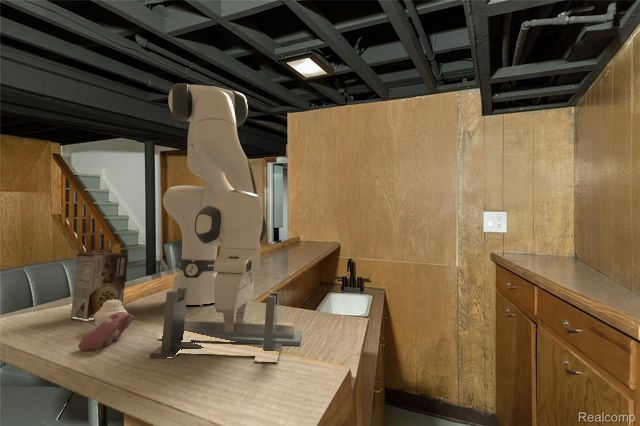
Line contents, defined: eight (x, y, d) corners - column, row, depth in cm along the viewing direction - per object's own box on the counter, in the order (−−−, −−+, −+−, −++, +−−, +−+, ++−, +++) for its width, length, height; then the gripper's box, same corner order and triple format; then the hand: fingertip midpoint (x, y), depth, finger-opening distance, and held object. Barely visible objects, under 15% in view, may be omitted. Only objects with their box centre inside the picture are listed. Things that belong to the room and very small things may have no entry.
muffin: (132, 330, 69) (136, 298, 69) (104, 337, 63) (108, 302, 64) (113, 326, 71) (117, 295, 72) (84, 333, 65) (89, 299, 66)
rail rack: (170, 343, 61) (176, 286, 62) (281, 348, 62) (285, 291, 63) (149, 357, 53) (156, 292, 54) (277, 363, 54) (281, 298, 55)
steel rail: (176, 328, 69) (178, 317, 69) (293, 333, 69) (294, 322, 69) (172, 331, 66) (173, 320, 66) (293, 337, 67) (293, 325, 67)
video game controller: (97, 361, 55) (120, 324, 56) (73, 349, 54) (97, 313, 56) (122, 343, 64) (142, 313, 66) (102, 333, 64) (122, 302, 65)
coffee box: (106, 312, 84) (113, 252, 86) (122, 315, 82) (129, 253, 83) (68, 318, 76) (77, 252, 77) (85, 322, 73) (94, 253, 75)
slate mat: (175, 329, 71) (175, 325, 71) (301, 334, 72) (301, 331, 72) (158, 339, 63) (158, 335, 63) (299, 345, 64) (300, 341, 64)
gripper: (237, 259, 79) (232, 314, 78) (210, 263, 59) (204, 338, 58) (261, 260, 80) (257, 315, 78) (244, 265, 59) (238, 340, 58)
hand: (235, 325), depth 68 cm, fingers open, 8 cm apart
